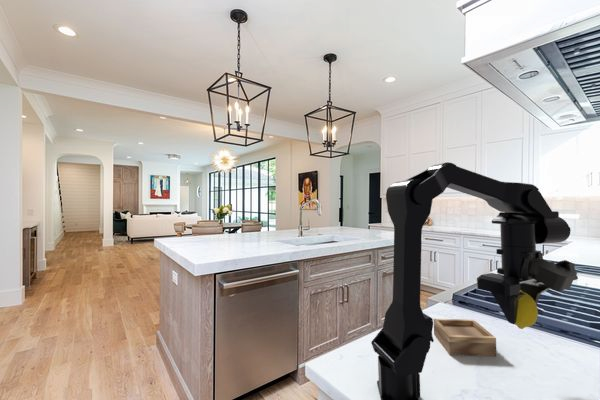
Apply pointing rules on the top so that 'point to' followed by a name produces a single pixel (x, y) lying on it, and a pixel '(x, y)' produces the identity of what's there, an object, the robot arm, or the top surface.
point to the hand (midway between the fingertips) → (520, 320)
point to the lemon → (526, 311)
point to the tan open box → (464, 337)
